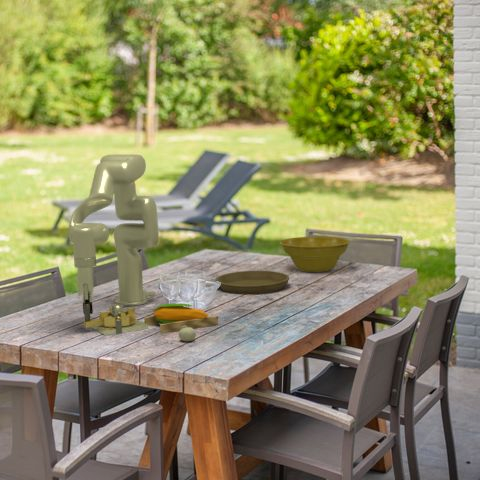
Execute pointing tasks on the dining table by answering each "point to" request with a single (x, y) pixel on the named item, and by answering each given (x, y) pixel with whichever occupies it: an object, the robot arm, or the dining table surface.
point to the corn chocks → (182, 323)
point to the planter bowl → (315, 252)
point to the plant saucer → (252, 282)
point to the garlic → (187, 334)
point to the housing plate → (120, 323)
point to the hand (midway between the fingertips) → (88, 313)
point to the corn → (177, 313)
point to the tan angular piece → (109, 317)
